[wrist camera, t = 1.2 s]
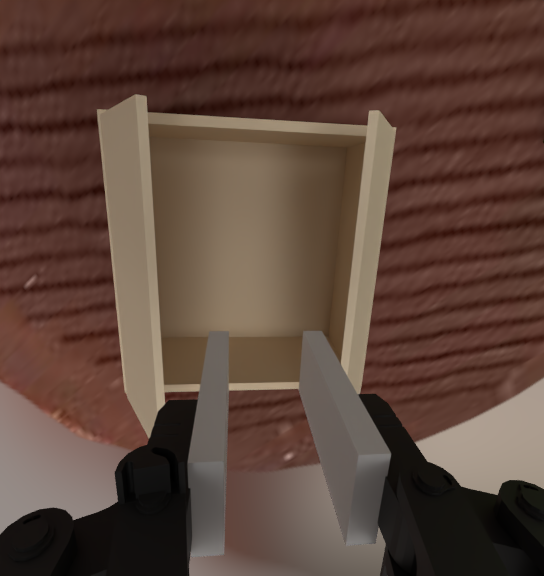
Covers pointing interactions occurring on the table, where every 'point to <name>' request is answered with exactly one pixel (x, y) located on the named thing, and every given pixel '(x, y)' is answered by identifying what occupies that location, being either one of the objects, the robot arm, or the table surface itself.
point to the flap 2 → (367, 244)
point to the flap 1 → (134, 253)
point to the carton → (250, 241)
